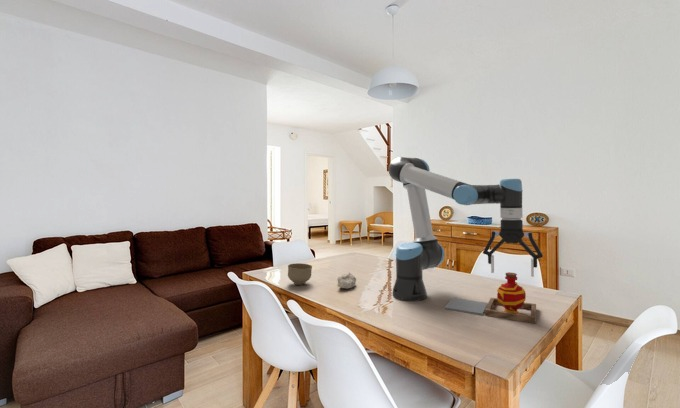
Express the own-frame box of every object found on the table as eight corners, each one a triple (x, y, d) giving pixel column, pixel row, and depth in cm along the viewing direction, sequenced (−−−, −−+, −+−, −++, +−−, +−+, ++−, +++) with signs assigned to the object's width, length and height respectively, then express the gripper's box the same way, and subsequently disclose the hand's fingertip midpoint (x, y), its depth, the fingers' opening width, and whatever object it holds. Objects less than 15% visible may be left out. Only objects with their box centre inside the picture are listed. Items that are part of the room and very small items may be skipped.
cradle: (484, 314, 124) (484, 309, 124) (490, 302, 138) (490, 297, 138) (535, 323, 115) (535, 317, 115) (536, 309, 129) (536, 304, 129)
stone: (357, 293, 165) (359, 273, 169) (348, 287, 155) (351, 266, 159) (343, 292, 168) (346, 273, 172) (333, 286, 158) (336, 266, 162)
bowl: (311, 287, 164) (310, 267, 163) (286, 287, 164) (285, 268, 163) (313, 280, 176) (313, 262, 176) (290, 281, 176) (289, 262, 176)
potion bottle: (530, 317, 120) (530, 277, 120) (500, 316, 122) (500, 276, 122) (520, 308, 131) (521, 270, 130) (493, 306, 133) (493, 270, 132)
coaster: (444, 308, 131) (444, 307, 131) (452, 298, 143) (452, 297, 143) (482, 315, 124) (482, 313, 124) (487, 304, 135) (487, 302, 135)
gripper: (475, 219, 129) (475, 272, 129) (550, 220, 115) (550, 279, 116) (478, 217, 135) (478, 268, 135) (549, 218, 122) (550, 275, 122)
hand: (512, 274), depth 126 cm, fingers open, 13 cm apart
